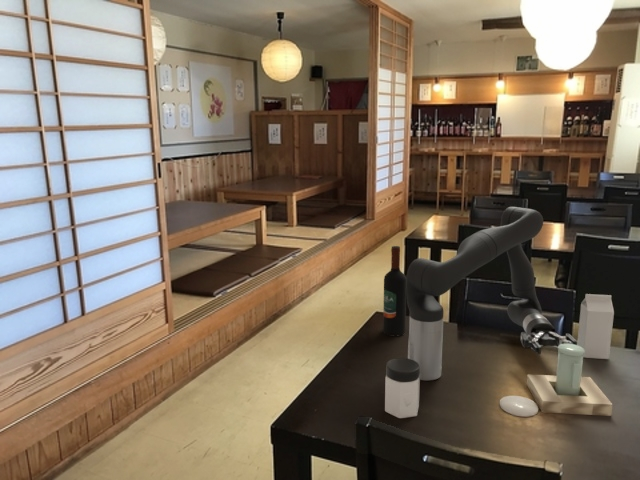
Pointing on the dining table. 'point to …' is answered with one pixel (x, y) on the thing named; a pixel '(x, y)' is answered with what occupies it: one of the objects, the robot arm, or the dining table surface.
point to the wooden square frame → (568, 397)
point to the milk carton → (596, 326)
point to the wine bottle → (394, 297)
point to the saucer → (519, 406)
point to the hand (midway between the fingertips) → (556, 351)
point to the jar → (402, 387)
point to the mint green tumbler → (569, 369)
